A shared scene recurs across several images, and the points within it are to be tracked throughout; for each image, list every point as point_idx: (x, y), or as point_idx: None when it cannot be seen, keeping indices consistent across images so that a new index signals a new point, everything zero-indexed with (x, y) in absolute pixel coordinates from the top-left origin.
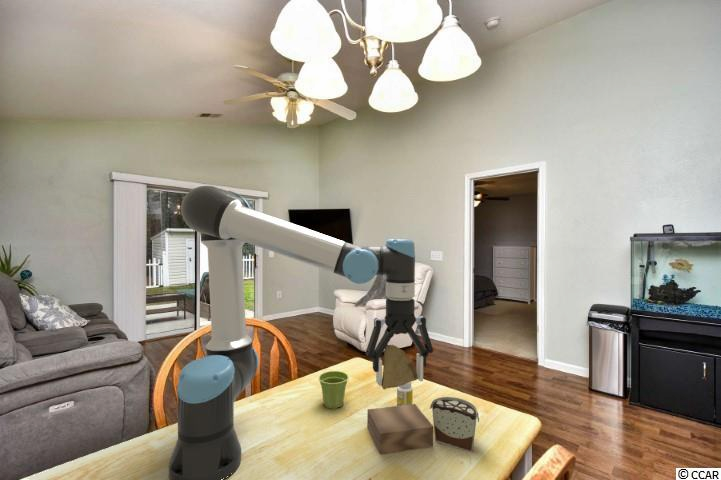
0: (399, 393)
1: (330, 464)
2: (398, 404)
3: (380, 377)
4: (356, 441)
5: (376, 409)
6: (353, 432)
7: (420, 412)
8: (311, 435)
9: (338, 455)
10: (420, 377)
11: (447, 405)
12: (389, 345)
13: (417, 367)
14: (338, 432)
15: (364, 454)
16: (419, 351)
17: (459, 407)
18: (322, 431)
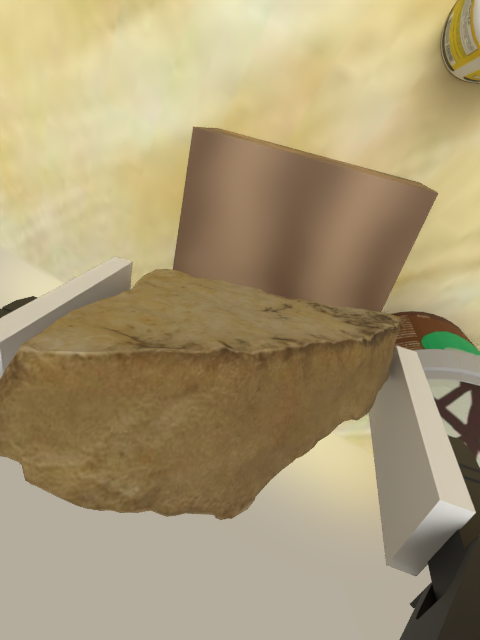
0: (468, 20)
1: (63, 251)
2: (448, 29)
3: None
4: (151, 193)
5: (230, 148)
6: (159, 136)
7: (393, 272)
8: (21, 80)
9: (87, 229)
10: (369, 417)
11: (447, 413)
12: (24, 467)
13: (399, 413)
14: (110, 108)
15: (152, 261)
16: (463, 558)
17: (474, 449)
18: (58, 71)
